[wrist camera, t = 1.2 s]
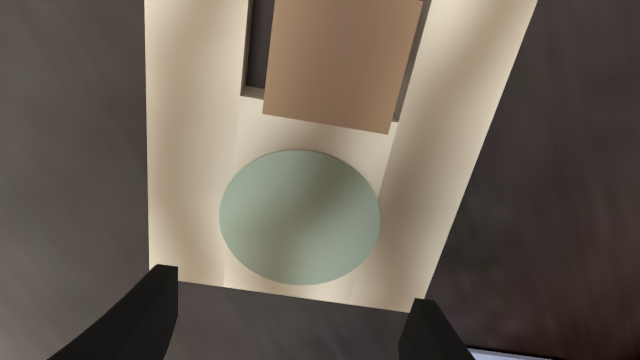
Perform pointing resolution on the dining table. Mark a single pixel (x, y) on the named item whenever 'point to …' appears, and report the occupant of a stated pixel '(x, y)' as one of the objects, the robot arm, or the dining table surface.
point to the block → (339, 60)
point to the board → (315, 157)
